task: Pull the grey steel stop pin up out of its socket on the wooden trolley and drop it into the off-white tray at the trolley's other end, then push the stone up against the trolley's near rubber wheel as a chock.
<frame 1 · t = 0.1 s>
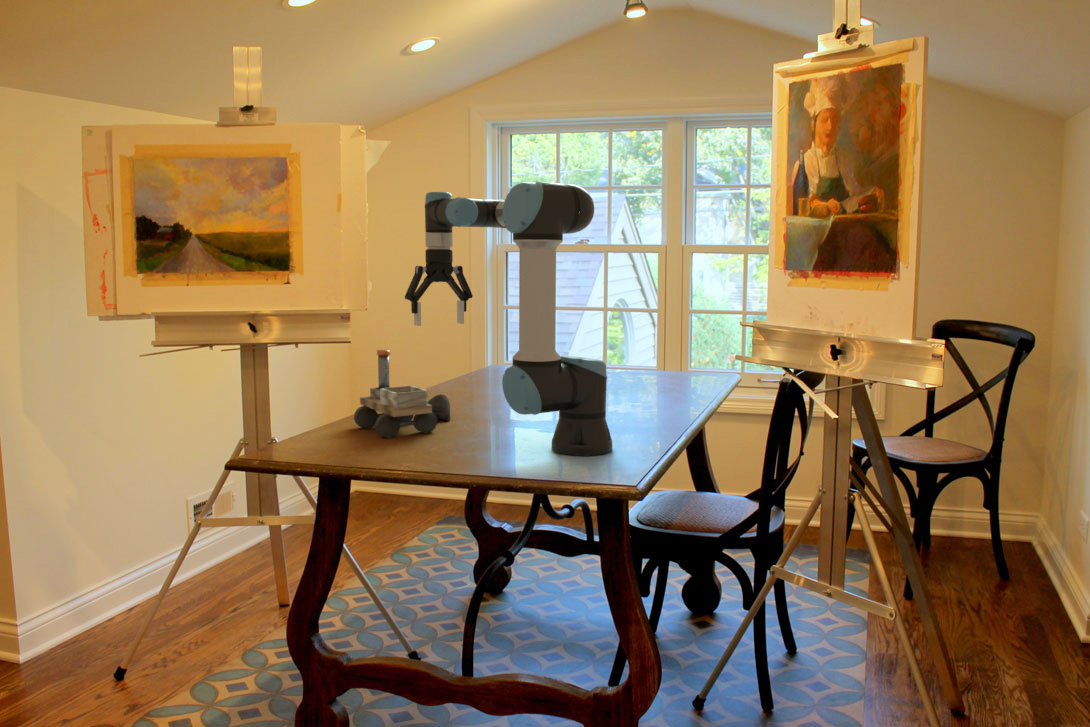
hand: (439, 324, 247), 28 cm above the table, fingers open, 13 cm apart
pin: (384, 397, 244), point 8 cm above the table, touching cart
cart: (395, 430, 239), on the table
stone: (436, 420, 256), on the table
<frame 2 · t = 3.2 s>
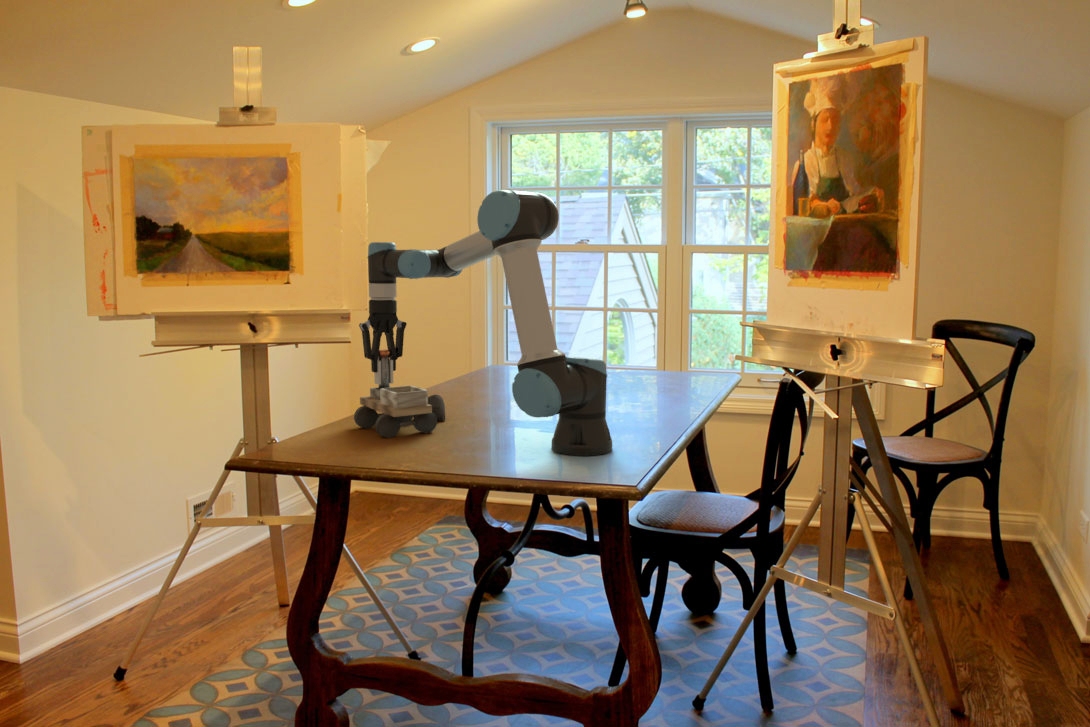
hand: (384, 383, 244), 12 cm above the table, fingers closed on pin, 3 cm apart
pin: (384, 397, 244), point 8 cm above the table, touching cart, gripper
stone: (431, 420, 255), on the table
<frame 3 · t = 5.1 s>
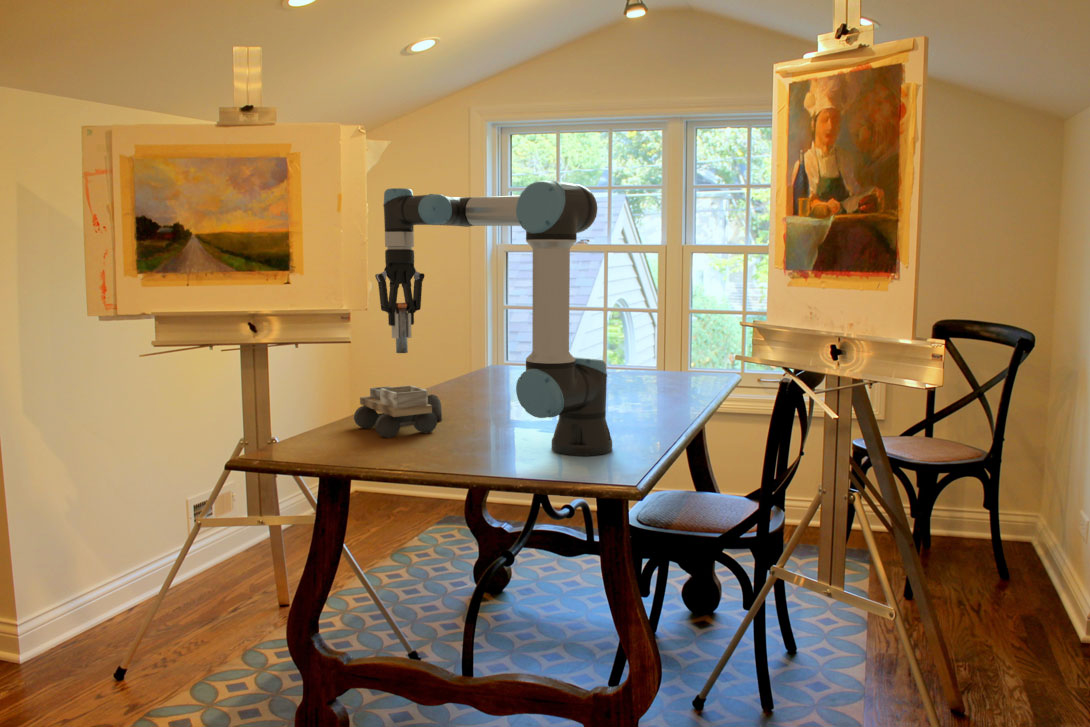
hand: (401, 337, 233), 26 cm above the table, fingers closed on pin, 3 cm apart
pin: (401, 352, 233), point 22 cm above the table, touching gripper
stone: (427, 420, 255), on the table
when the fingers open (14 cm above the table, at t = 6.9 s): pin drops 1 cm, resting on cart.
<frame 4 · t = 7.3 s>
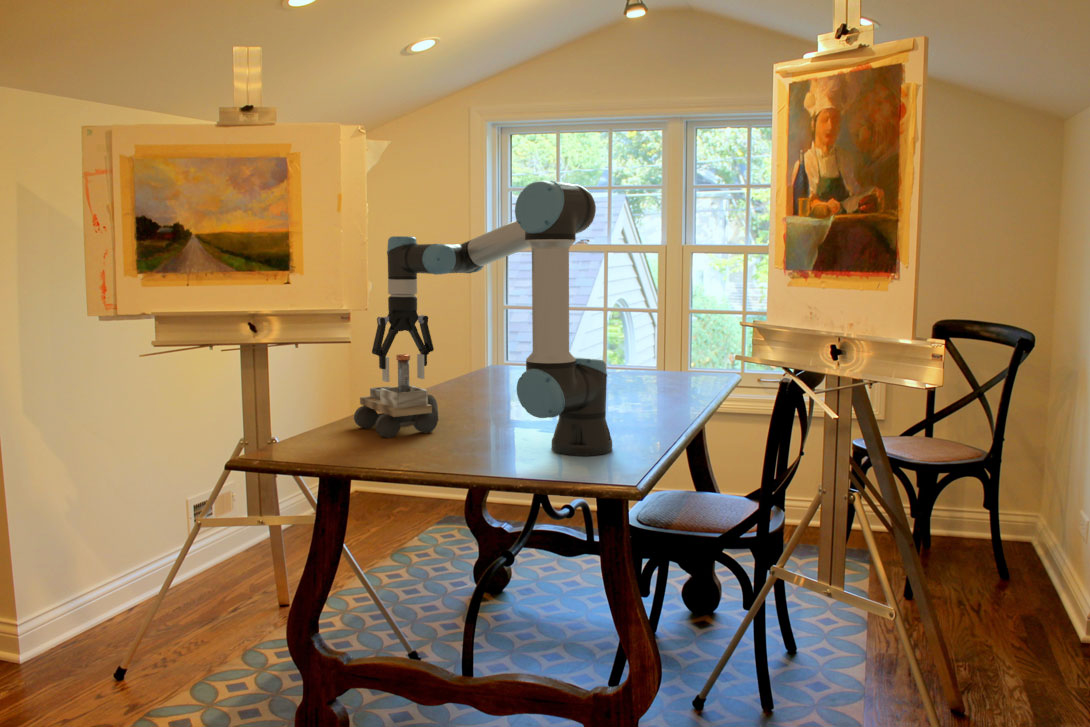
hand: (403, 379, 233), 15 cm above the table, fingers open, 9 cm apart
pin: (404, 404, 234), point 8 cm above the table, touching cart
stone: (423, 420, 255), on the table
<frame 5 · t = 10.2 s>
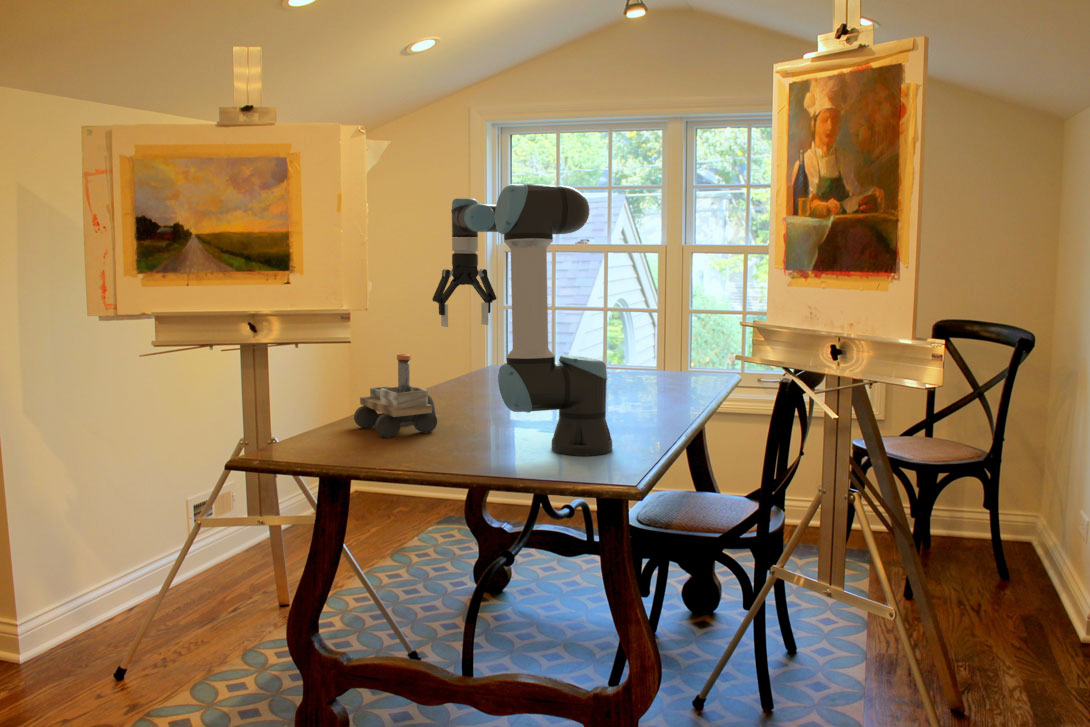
hand: (465, 325, 257), 27 cm above the table, fingers open, 13 cm apart
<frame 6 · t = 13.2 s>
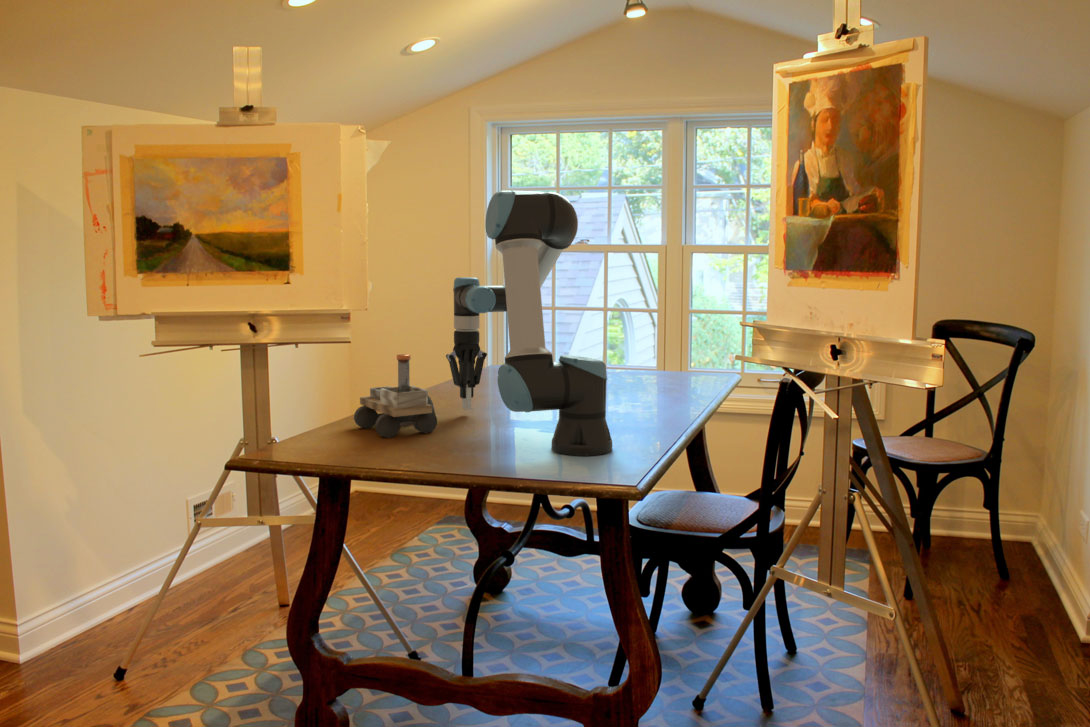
hand: (466, 408, 261), 2 cm above the table, fingers closed
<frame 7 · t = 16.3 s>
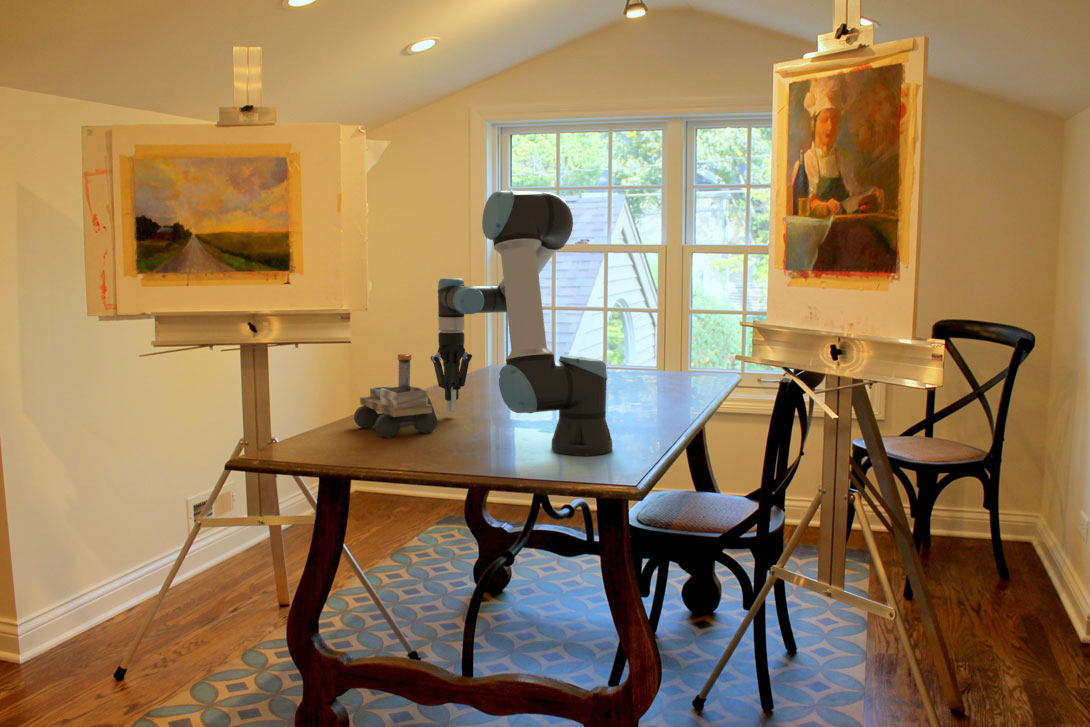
hand: (451, 411, 258), 2 cm above the table, fingers closed
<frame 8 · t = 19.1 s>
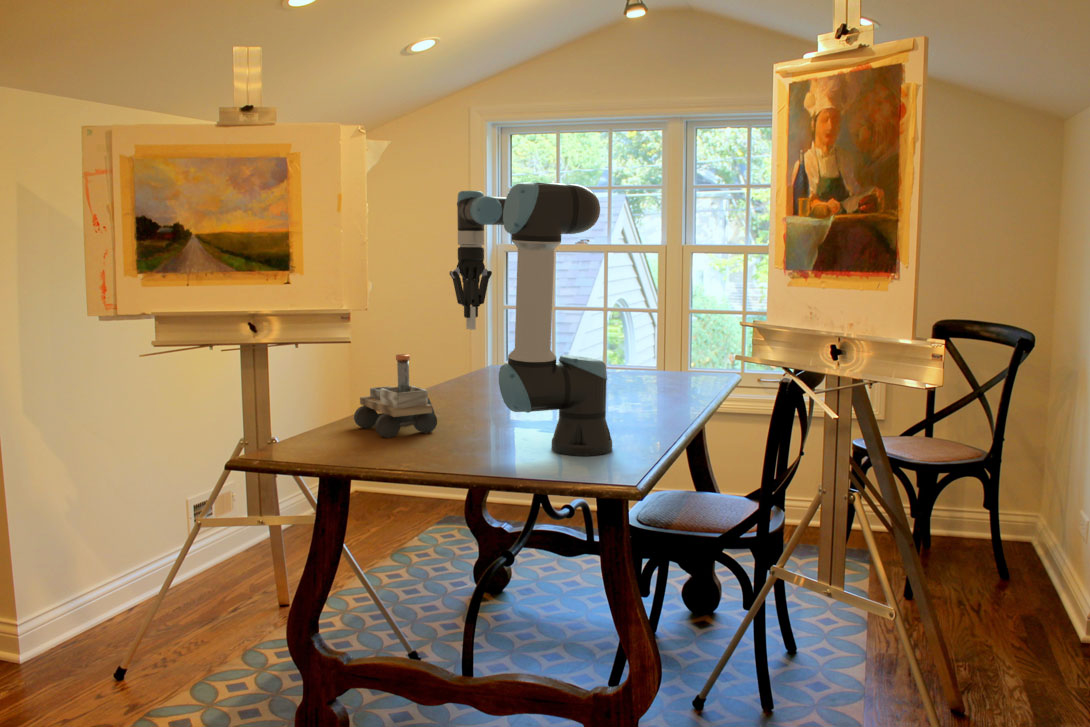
hand: (471, 329, 252), 26 cm above the table, fingers closed
at the end: pin inside the target area on the cart (0.2 cm from its centre), point 8.0 cm above the cart's base; stone inside the target area (3.0 cm from its centre), on the table; the gripper is holding nothing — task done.
